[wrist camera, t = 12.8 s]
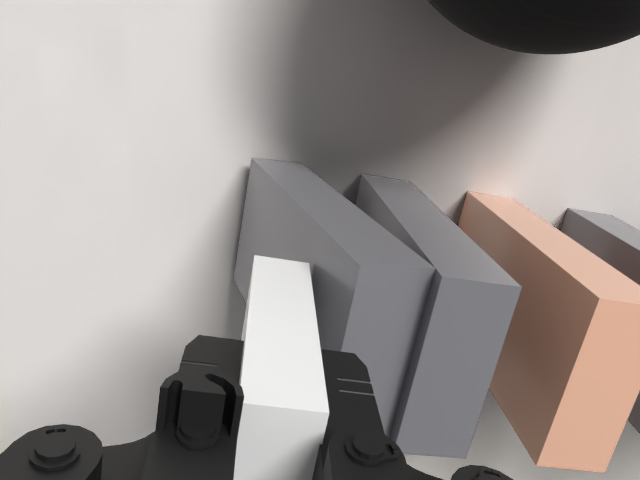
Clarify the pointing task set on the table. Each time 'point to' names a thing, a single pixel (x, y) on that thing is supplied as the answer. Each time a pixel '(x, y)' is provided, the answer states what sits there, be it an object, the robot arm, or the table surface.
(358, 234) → the domino
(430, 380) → the domino
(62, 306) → the table surface
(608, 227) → the domino
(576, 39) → the black ball
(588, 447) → the domino
